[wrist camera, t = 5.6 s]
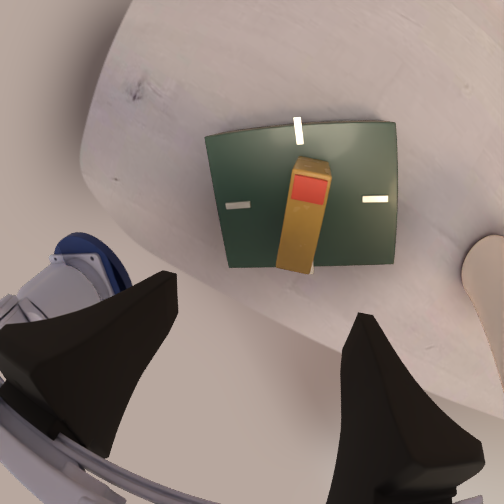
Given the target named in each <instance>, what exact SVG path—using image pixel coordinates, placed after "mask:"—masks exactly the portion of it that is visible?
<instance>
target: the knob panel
mask: <svg viewBox="0 0 504 504" xmlns="http://www.w3.org/2000/svg"><path fill="white" fill-rule="evenodd" d="M205 143H206V149H207V154H208V160H209V166H210V171H211V177H212V182H213V188H214V193H215V199H216V204H217V209H218V215H219V220H220V225H221V230H222V235H223V241H224V246H225V251H226V256H227V261H228V266H229V268H252V267H276V260H277V255H278V249H279V244H280V238H281V232H282V227H283V221H284V215H285V209H286V204H287V198H288V192H289V186H290V180H291V174H292V169H293V167H294V165H295V163H296V160H297V158H298V156H302V157H307V158H312V159H317V160H322V161H327V162H329V166H330V171H331V176H332V180H331V185H330V190H329V194H328V199H327V204H326V208H325V213H324V217H323V222H322V226H321V230H320V234H319V239H318V243H317V247H316V251H315V255H314V259H313V263H312V267H311V271H310V273H309V274H314V266H347V265H380V264H394V255H395V243H396V228H397V204H398V160H397V136H396V123H395V122H389V121H377V120H363V121H327V122H310V123H302V122H301V117H294V124H285V125H275V126H266V127H257V128H250V129H242V130H235V131H229V132H222V133H218V134H214V135H210V136H206V137H205Z"/></svg>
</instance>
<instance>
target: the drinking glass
mask: <svg viewBox="0 0 504 504" xmlns="http://www.w3.org/2000/svg"><path fill="white" fill-rule="evenodd" d="M461 278H462V284H463V287H464V289H465V291H466V293H467V294H468V296H469V298H470V299H471V301H472V303H473V305H474V308H475V310H476V312H477V314H478V317H479V319H480V322H481V324H482V327H483V329H484V332H485V335H486V337H487V340H488V343H489V346H490V348H491V351H492V354H493V357H494V361H495V364H496V367H497V370H498V374H499V377H500V381H501V384H502V388H503V392H504V237H503V236H500V235H490V236H487V237H484V238H483V239H481V240H479V241H478V242H477V243H476V244H475V245H474V246H473V247H472V248H471V249H470V251H469V252H468V254H467V256H466V258H465V260H464V263H463V266H462V273H461Z"/></svg>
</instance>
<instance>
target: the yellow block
mask: <svg viewBox="0 0 504 504" xmlns="http://www.w3.org/2000/svg"><path fill="white" fill-rule="evenodd" d="M331 180H332V176H331V171H330V166H329V162H327V161H322V160H317V159H312V158H307V157H302V156H298V158H297V160H296V163H295V165H294V167H293V169H292V174H291V180H290V186H289V192H288V198H287V204H286V209H285V215H284V221H283V227H282V232H281V238H280V244H279V249H278V255H277V260H276V268H280V269H285V270H289V271H294V272H299V273H304V274H309V273H310V271H311V267H312V263H313V259H314V255H315V251H316V247H317V243H318V239H319V234H320V230H321V226H322V222H323V217H324V213H325V208H326V204H327V199H328V194H329V190H330V185H331Z"/></svg>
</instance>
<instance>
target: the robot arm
mask: <svg viewBox="0 0 504 504" xmlns="http://www.w3.org/2000/svg"><path fill="white" fill-rule="evenodd" d="M49 260H50V262H51V264H50V265H49V266H48V267H46V268H45V269H44V270H42V271H41V272H40V273H38V274H37V275H36V276H35V277H33V278H32V279H31V280H30V281H28V282H27V283H26V284H25V285H24V286H22V287H21V289H20V290H19V292H18V294H17V296H16V295H10V294H8V295H6V296H5V297H3V298H2V299H1V300H0V371H1V372H2V374H3V375H4V377H5V378H6V381H5V382H4V380H3V379H2V378H1V377H0V462H1V463H2V464H3V465H4V466H5V467H6V468H7V469H8V470H9V471H10V472H11V473H12V474H13V475H14V476H15V477H16V478H17V479H18V480H19V481H20V482H21V483H22V484H23V485H24V486H25V487H26V488H27V489H28V490H29V491H30V492H32V494H34V495H35V496H36V497H37V498H38V499H39V500H40V501H42V502H43V503H44V504H125V503H126V499H125V498H123V497H122V496H120V495H118V494H117V493H115V492H114V491H112V490H111V489H110V488H109V487H108V486H107V485H105V484H104V483H102V482H100V481H99V480H97V479H95V478H94V477H92V476H91V475H89V474H87V473H86V471H85V469H86V470H88V471H89V472H91V473H93V474H95V475H96V476H98V477H100V478H102V479H104V480H105V481H107V482H109V483H111V484H113V485H115V486H117V487H119V488H121V489H123V490H125V491H127V492H129V493H132V494H134V495H136V496H138V497H141V498H143V499H145V500H148V501H150V502H152V503H155V504H219V503H215V502H212V501H208V500H205V499H201V498H198V497H195V496H191V495H188V494H185V493H182V492H179V491H176V490H174V489H171V488H168V487H165V486H163V485H160V484H158V483H155V482H153V481H150V480H148V479H145V478H143V477H141V476H139V475H136V474H134V473H132V472H130V471H128V470H125V469H123V468H121V467H119V466H117V465H115V464H113V463H111V462H109V461H107V460H105V458H108V457H109V455H110V451H111V448H112V444H113V442H114V439H115V435H116V432H117V429H118V427H119V424H120V421H121V419H122V416H123V414H124V412H125V409H126V407H127V404H128V402H129V400H130V398H131V395H132V393H133V391H134V389H135V387H136V385H137V383H138V381H139V379H140V377H141V375H142V373H143V372H144V370H145V369H146V367H147V365H148V364H149V363H150V361H151V360H152V358H153V356H154V355H155V353H156V352H157V350H158V349H159V347H160V346H161V344H162V343H163V341H164V339H165V338H166V336H167V335H168V333H169V331H170V329H171V327H172V325H173V323H174V321H175V319H176V317H177V314H178V299H177V298H178V297H177V274H176V273H172V272H168V271H161V272H158V273H156V274H154V275H153V276H151V277H149V278H147V279H145V280H143V281H141V282H140V283H137V284H136V285H134V286H132V287H130V288H128V289H126V290H124V291H122V292H120V293H118V294H116V295H115V294H114V291H113V289H112V286H111V284H110V281H109V279H108V276H107V274H106V271H105V268H104V266H103V263H102V260H101V258H100V255H99V254H98V253H76V254H53V255H50V256H49ZM340 372H341V373H340V375H341V376H340V377H341V433H340V440H339V447H338V454H337V459H336V465H335V470H334V475H333V479H332V483H331V488H330V491H329V495H328V499H327V502H326V504H452V497H454V496H456V494H457V490H456V487H457V486H458V485H460V484H462V483H463V482H465V481H467V480H468V479H470V478H471V477H473V476H474V475H476V474H477V473H479V472H480V470H482V469H483V467H484V465H485V459H484V453H483V449H482V443H481V441H479V440H478V439H476V438H475V437H473V436H472V435H471V434H469V433H468V432H467V431H465V430H464V429H462V428H461V427H460V426H459V425H458V424H457V423H455V422H454V421H453V420H452V419H451V418H450V417H449V416H447V415H446V414H445V413H444V412H443V411H442V410H441V409H440V408H439V407H438V406H437V405H436V404H435V403H434V402H433V401H432V400H431V398H430V397H429V396H428V395H427V394H426V393H425V392H424V390H423V389H422V388H421V387H420V385H419V384H418V383H417V382H416V381H415V379H414V378H413V377H412V375H411V374H410V373H409V371H408V370H407V368H406V367H405V365H404V364H403V363H402V361H401V360H400V358H399V357H398V355H397V353H396V352H395V350H394V349H393V347H392V346H391V344H390V342H389V341H388V339H387V337H386V336H385V334H384V332H383V331H382V329H381V327H380V326H379V324H378V322H377V321H376V319H375V318H374V316H373V315H369V314H364V313H358V314H357V317H356V319H355V322H354V324H353V326H352V329H351V331H350V333H349V336H348V338H347V340H346V342H345V345H344V347H343V349H342V359H341V371H340ZM453 504H483V497H482V495H479V496H475V497H472V498H468V499H465V500H461V501H458V502H455V503H453Z"/></svg>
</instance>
